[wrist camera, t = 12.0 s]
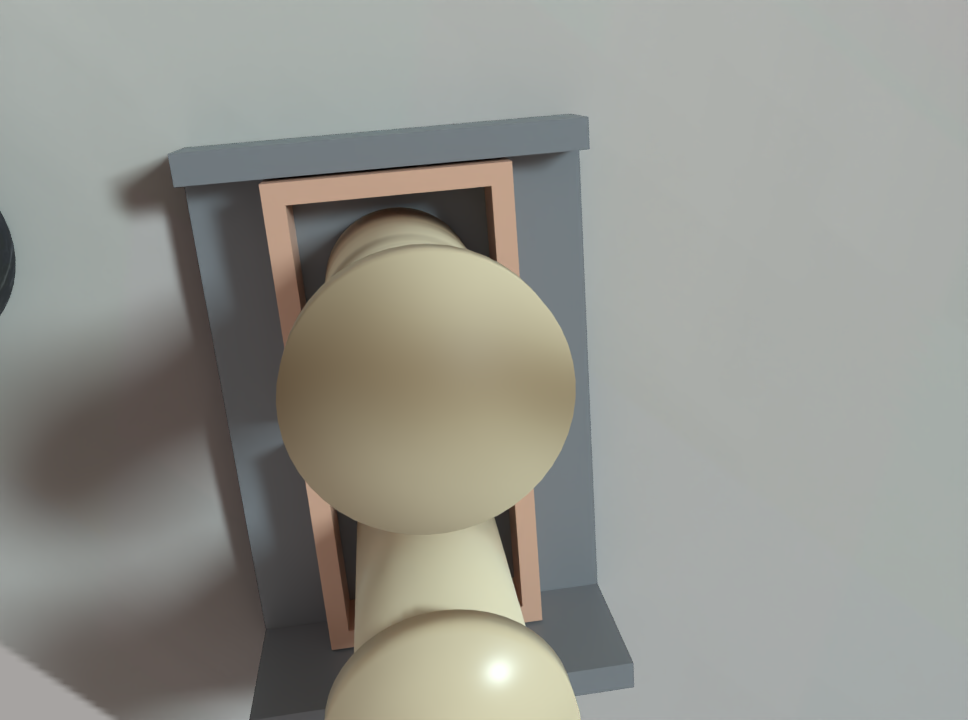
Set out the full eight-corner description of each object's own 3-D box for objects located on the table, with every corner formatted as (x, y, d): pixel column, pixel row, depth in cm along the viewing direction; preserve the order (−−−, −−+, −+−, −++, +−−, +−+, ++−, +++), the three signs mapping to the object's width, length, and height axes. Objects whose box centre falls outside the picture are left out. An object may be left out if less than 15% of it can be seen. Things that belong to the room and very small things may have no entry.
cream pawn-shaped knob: (499, 356, 31) (584, 511, 20) (320, 380, 31) (302, 555, 19) (483, 175, 29) (566, 234, 18) (290, 197, 29) (251, 273, 17)
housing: (571, 114, 30) (711, 139, 18) (592, 591, 36) (707, 856, 24) (184, 147, 29) (47, 200, 17) (272, 636, 35) (220, 941, 23)
